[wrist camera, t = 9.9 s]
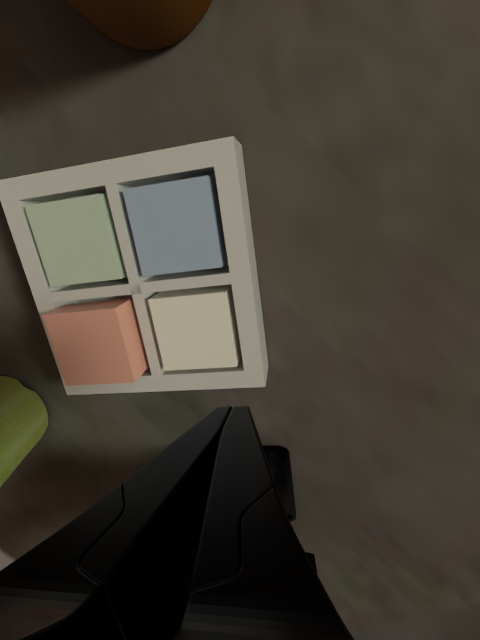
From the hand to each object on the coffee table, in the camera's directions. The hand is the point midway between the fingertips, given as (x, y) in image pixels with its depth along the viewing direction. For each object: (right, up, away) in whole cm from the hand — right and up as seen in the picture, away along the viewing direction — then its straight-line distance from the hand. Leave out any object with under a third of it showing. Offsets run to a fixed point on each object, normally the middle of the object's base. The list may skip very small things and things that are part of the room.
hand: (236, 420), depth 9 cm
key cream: (-2, +3, +12) cm, 12 cm away
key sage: (-9, +7, +11) cm, 16 cm away
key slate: (-3, +8, +10) cm, 13 cm away
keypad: (-5, +5, +12) cm, 14 cm away
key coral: (-8, +2, +11) cm, 14 cm away
